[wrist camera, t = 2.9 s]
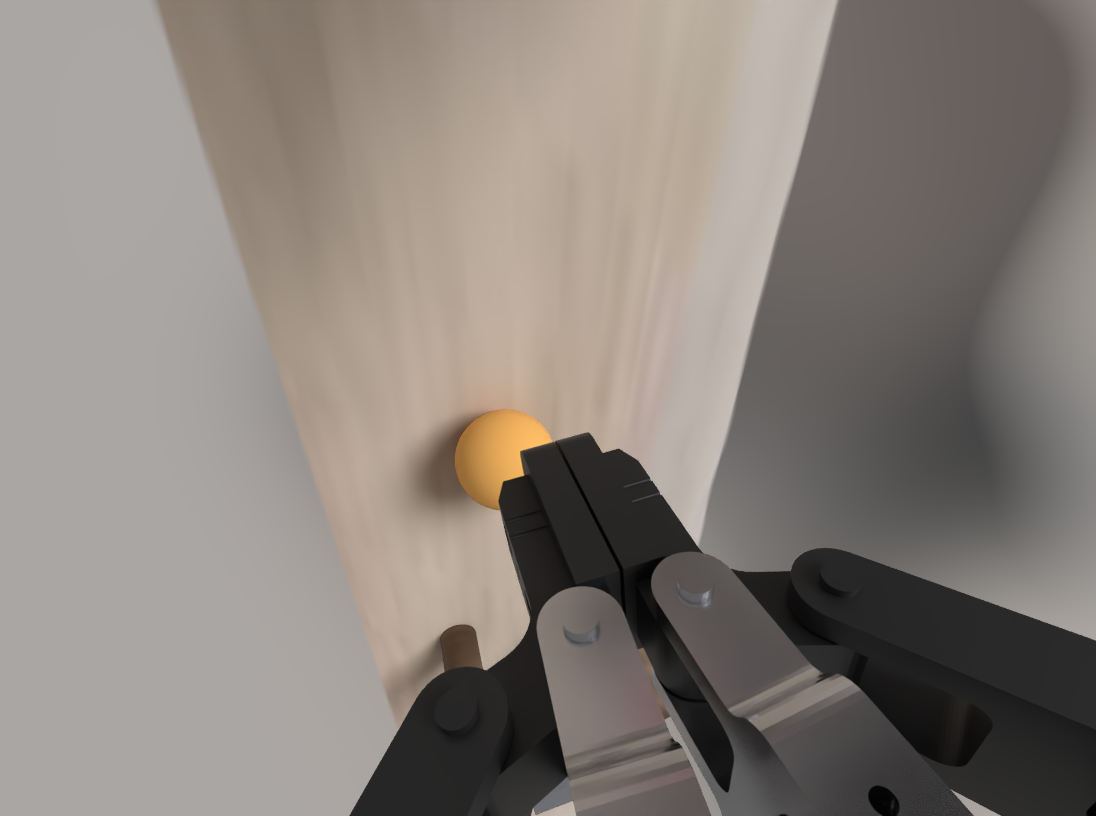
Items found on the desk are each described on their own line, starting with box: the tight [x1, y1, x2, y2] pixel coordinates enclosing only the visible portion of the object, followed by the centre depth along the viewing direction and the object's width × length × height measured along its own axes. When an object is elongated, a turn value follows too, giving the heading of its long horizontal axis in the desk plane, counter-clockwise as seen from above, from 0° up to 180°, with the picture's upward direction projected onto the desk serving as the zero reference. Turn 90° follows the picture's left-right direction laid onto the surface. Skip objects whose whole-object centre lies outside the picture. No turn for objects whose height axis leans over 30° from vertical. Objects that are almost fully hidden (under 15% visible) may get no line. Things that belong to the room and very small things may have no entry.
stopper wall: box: [533, 777, 573, 815], centre depth 51 cm, size 3×8×2 cm, turn 98°
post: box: [441, 625, 483, 672], centre depth 34 cm, size 2×2×9 cm
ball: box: [455, 409, 552, 510], centre depth 27 cm, size 5×5×5 cm
